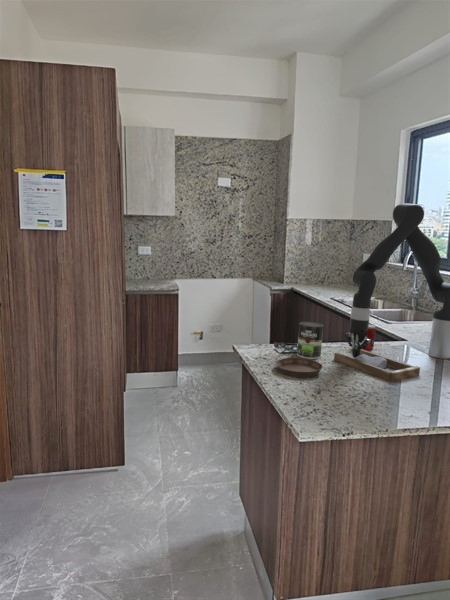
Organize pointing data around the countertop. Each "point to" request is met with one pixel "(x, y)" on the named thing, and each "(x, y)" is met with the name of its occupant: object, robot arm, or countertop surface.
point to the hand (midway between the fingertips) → (355, 357)
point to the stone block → (373, 360)
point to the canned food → (370, 336)
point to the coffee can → (310, 340)
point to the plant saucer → (299, 367)
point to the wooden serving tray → (400, 374)
